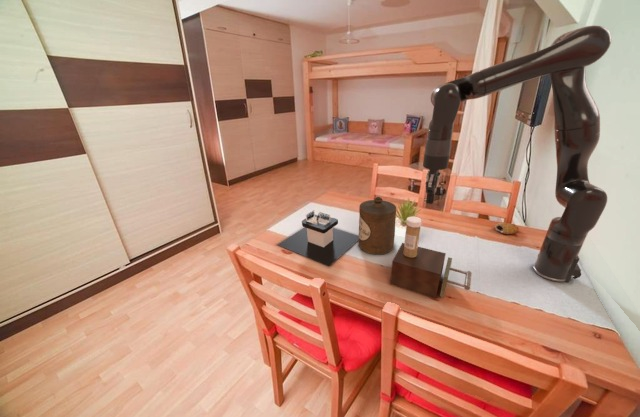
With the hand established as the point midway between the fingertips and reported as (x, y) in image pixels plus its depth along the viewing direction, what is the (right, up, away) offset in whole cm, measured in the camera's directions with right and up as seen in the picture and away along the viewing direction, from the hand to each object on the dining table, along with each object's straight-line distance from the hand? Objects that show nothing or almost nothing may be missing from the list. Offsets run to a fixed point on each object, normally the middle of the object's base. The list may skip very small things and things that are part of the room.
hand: (429, 202), depth 90 cm
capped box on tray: (-38, -17, +27) cm, 49 cm away
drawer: (+1, -27, -2) cm, 27 cm away
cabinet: (-4, -27, +1) cm, 27 cm away
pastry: (+47, -12, +29) cm, 56 cm away
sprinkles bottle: (-7, -18, -1) cm, 19 cm away
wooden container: (-14, -18, +22) cm, 32 cm away
